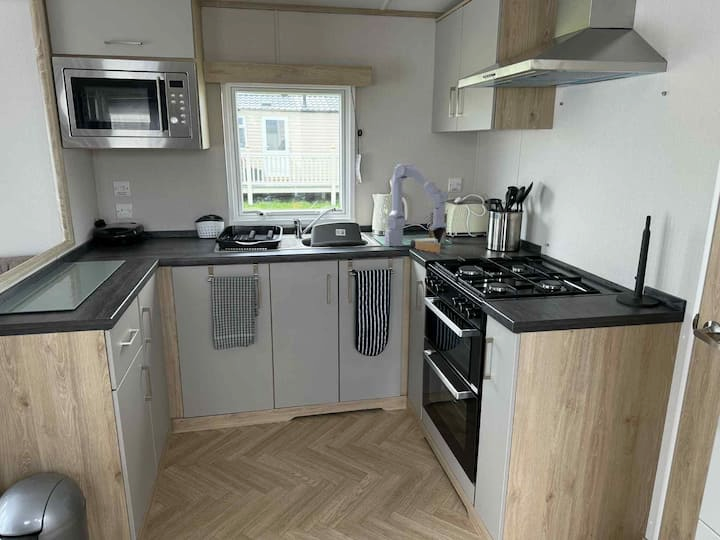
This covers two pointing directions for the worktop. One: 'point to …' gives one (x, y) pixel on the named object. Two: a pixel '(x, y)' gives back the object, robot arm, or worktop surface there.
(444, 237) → the coffee box
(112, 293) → the worktop surface
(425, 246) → the side door
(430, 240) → the pale upright slab
